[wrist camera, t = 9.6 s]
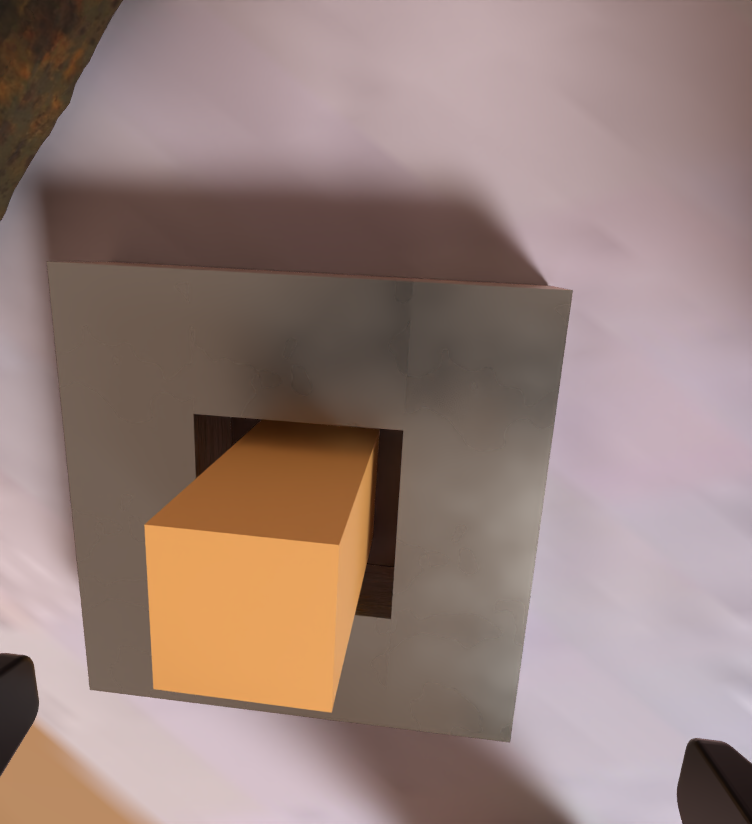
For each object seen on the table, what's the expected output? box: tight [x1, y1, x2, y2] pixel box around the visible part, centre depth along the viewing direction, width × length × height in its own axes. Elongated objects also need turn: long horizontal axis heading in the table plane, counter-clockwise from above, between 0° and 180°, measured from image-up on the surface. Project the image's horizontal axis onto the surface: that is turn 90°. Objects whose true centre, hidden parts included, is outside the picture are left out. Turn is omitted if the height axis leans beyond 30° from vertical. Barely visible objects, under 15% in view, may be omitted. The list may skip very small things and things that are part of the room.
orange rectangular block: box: [144, 419, 380, 713], centre depth 16 cm, size 4×4×8 cm
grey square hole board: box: [47, 261, 573, 742], centre depth 18 cm, size 14×14×3 cm
